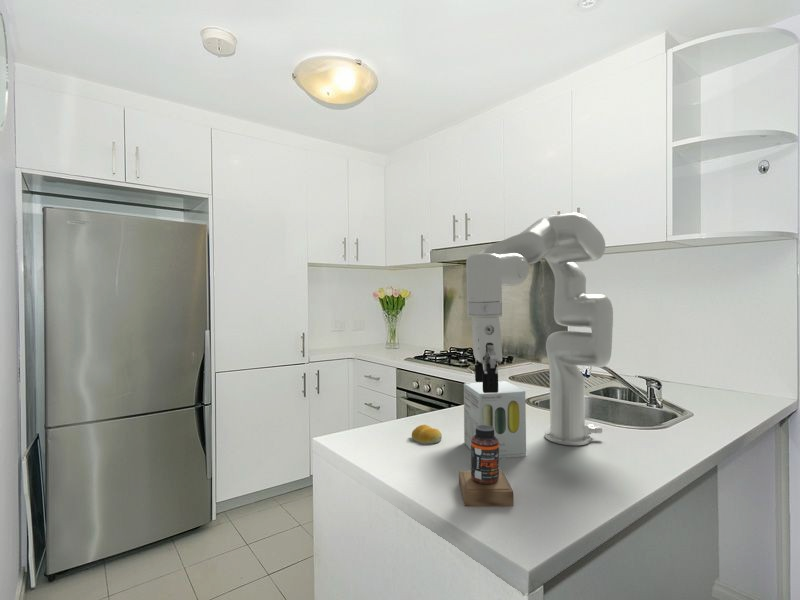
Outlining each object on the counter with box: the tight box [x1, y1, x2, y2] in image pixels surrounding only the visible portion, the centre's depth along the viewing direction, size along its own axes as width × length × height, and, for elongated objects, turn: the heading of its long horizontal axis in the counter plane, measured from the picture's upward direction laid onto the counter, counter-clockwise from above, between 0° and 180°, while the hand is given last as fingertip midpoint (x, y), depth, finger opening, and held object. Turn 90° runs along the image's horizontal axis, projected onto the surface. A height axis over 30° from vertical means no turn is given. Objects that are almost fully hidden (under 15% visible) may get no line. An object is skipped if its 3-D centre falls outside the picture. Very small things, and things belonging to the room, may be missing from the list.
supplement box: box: [463, 380, 527, 459], centre depth 118 cm, size 13×13×18 cm
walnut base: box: [458, 470, 515, 507], centre depth 93 cm, size 10×10×3 cm
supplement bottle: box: [470, 425, 500, 484], centre depth 93 cm, size 6×6×11 cm
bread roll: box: [411, 424, 443, 445], centre depth 127 cm, size 8×9×4 cm
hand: (486, 386), depth 95 cm, fingers open, 9 cm apart
